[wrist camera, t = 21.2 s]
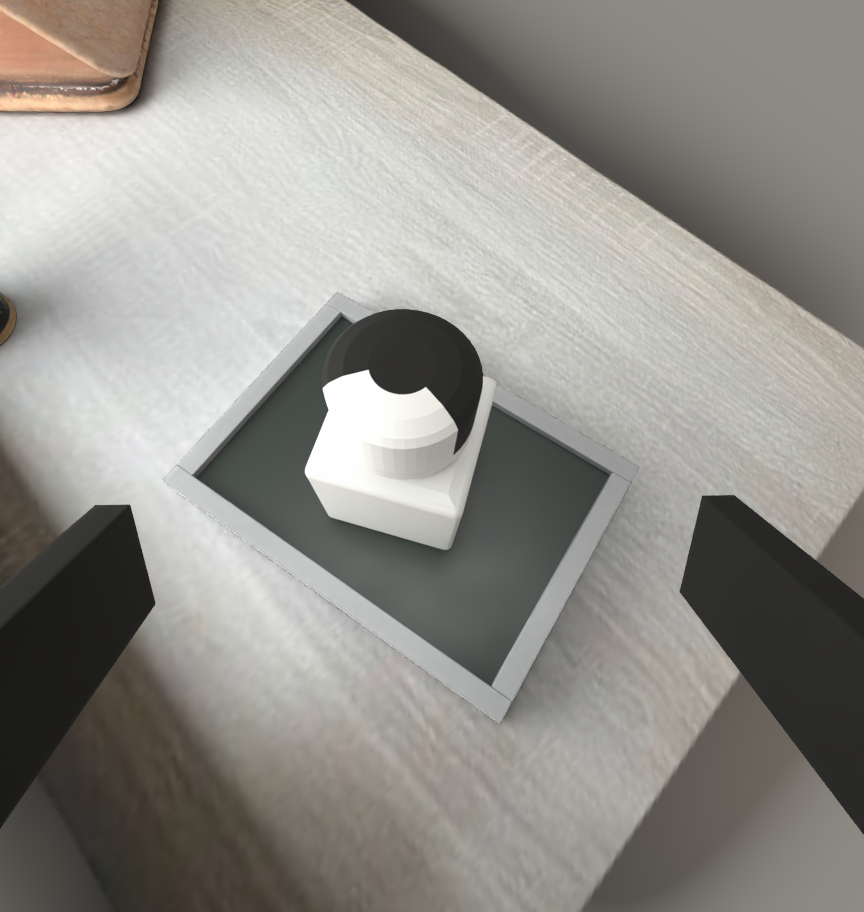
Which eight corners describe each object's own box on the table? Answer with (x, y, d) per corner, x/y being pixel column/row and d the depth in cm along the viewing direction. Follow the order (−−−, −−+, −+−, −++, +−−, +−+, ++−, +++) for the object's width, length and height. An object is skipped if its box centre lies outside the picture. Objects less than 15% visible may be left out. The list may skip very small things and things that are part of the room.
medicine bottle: (366, 408, 31) (341, 266, 20) (480, 438, 31) (519, 311, 20) (326, 517, 29) (272, 424, 18) (449, 553, 28) (474, 479, 17)
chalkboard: (626, 478, 32) (639, 466, 30) (494, 720, 27) (500, 725, 25) (341, 310, 36) (337, 290, 34) (176, 491, 30) (160, 480, 29)
